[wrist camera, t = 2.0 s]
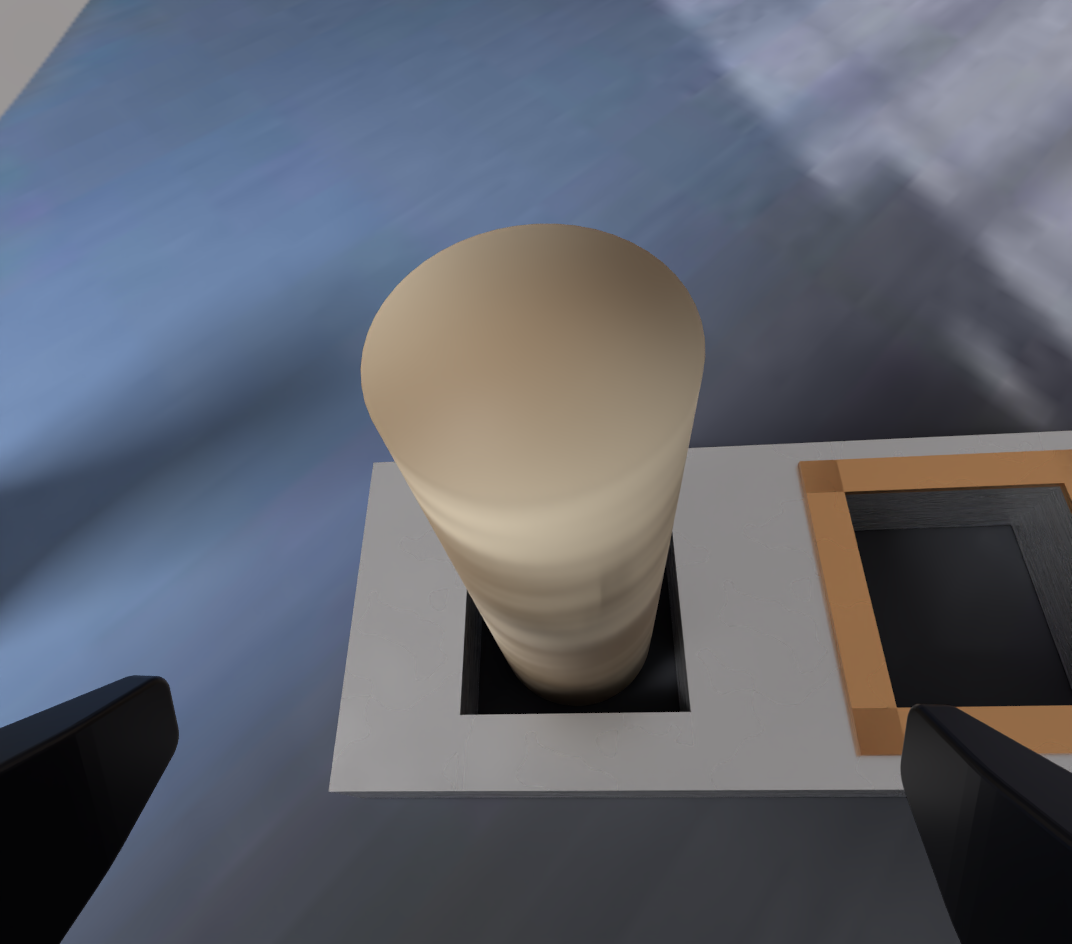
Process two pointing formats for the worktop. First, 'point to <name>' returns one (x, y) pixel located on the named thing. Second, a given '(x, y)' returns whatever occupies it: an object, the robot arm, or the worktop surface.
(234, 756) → the worktop surface
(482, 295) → the maple peg
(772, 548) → the white peg board
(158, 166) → the worktop surface
